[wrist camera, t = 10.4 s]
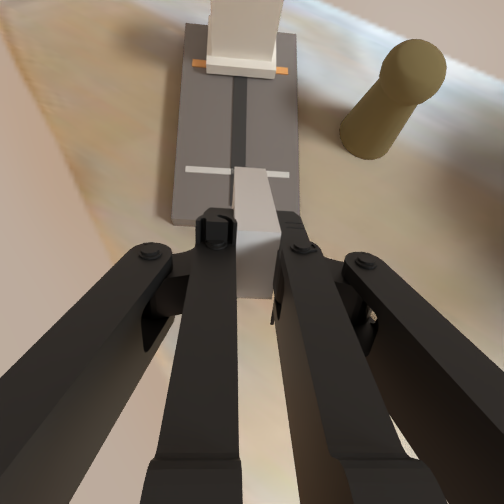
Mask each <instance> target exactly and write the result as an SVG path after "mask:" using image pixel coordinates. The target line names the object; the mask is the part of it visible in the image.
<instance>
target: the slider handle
mask: <svg viewBox="0 0 504 504" xmlns="http://www.w3.org/2000/svg"><path fill="white" fill-rule="evenodd" d="M283 1H284V0H211V15H209V22H208V40H207V58H206V73H209V74H221V75H232V76H244V77H255V78H267V79H274V78H275V74H276V36H277V31H278V26H279V21H280V16H281V11H282V6H283Z"/></svg>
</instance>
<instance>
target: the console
mask: <svg viewBox="0 0 504 504" xmlns="http://www.w3.org/2000/svg"><path fill="white" fill-rule="evenodd" d="M207 40H208V25H199V24H189V23H186V26H185V39H184V53H183V66H182V80H181V93H180V107H179V120H178V134H177V147H176V161H175V174H174V188H173V201H172V215H171V219H172V222H173V225H175V226H196V219H197V218H198V217H199V216H201V215H203V214H204V212H205V211H206V210H207V209H208V208H210V207H213V208H230V209H232V202H233V185H234V169H235V167H248V168H262V169H266V173H267V177H268V181H269V185H270V189H271V193H272V197H273V201H274V205H275V209H276V210H278V211H294V212H295V213H296V214H297V215H299V216H300V196H299V147H298V98H297V49H296V34H290V33H280V32H277V36H276V74H275V78H274V79H267V78H255V77H244V76H232V75H221V74H209V73H206V58H207Z"/></svg>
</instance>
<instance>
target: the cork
mask: <svg viewBox="0 0 504 504" xmlns="http://www.w3.org/2000/svg"><path fill="white" fill-rule="evenodd" d="M446 67H447V66H446V61H445V58H444V56H443V54H442V52H441V51H440V50H439V49H438V48H437V47H436V46H434V45H433V44H431V43H429V42H427V41H424V40H421V39H411V40H406V41H404V42H402V43H400V44H398V45H397V46H395V47H394V48H393V49H392V50H391V51H390V52H389V54H388V55H387V56H386V58H385V59H384V61H383V63H382V67H381V71H380V75H379V79H378V80H377V81H376V83H375V84H374V85H373V86H372V87H371V88H370V90H369V91H368V92H367V93H366V94H365V95H364V96H363V98H362V99H361V100H360V101H359V102H358V103H357V105H356V106H355V107H354V108H353V109H352V110H351V111H350V113H349V114H348V115H347V116H346V117H345V119H344V120H343V121H342V123H341V126H340V130H339V131H340V139H341V141H342V143H343V145H344V147H345V148H346V149H347V150H348V151H349V152H350V153H351V154H353V155H354V156H356V157H359V158H362V159H368V160H373V159H377V158H380V157H382V156H383V155H385V154H386V153H387V152H388V150H389V149H390V147H391V145H392V144H393V142H394V141H395V139H396V138H397V136H398V135H399V133H400V131H401V130H402V128H403V127H404V125H405V124H406V122H407V120H408V119H409V117H410V116H411V114H412V113H413V111H414V109H415V108H416V106H417V105H418V104H421V103H423V102H425V101H426V100H428V99H429V98H431V97H432V96H433V95H434V94H435V93H436V92H437V91H438V90H439V88H440V87H441V85H442V83H443V81H444V79H445V75H446Z"/></svg>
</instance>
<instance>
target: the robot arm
mask: <svg viewBox="0 0 504 504" xmlns="http://www.w3.org/2000/svg"><path fill="white" fill-rule="evenodd" d="M273 289H274V296H275V297H274V303H273V310H272V317H271V323H270V325H273V324H274V320H275V328H276V335H277V342H278V349H279V356H280V363H281V370H282V377H283V384H284V391H285V398H286V406H287V413H288V420H289V427H290V434H291V441H292V448H293V455H294V462H295V469H296V477H297V484H298V491H299V498H300V504H448V503H449V504H504V372H503V371H502V370H501V369H500V368H499V367H498V366H497V365H496V364H495V363H494V362H492V361H491V360H490V359H489V358H488V357H487V356H486V355H485V354H484V353H483V352H482V351H480V350H479V349H478V348H477V347H476V346H475V345H474V344H473V343H472V342H471V341H470V340H469V339H467V338H466V337H465V336H464V335H463V334H462V333H461V332H460V331H459V330H458V329H457V328H455V327H454V326H453V325H452V324H451V323H450V322H449V321H448V320H447V319H446V318H445V317H443V316H442V315H441V314H440V313H439V312H438V311H437V310H436V309H435V308H434V307H433V306H432V305H430V304H429V303H428V302H427V301H426V300H425V299H424V298H423V297H422V296H421V295H420V294H418V293H417V292H416V291H415V290H414V289H413V288H412V287H411V286H410V285H409V284H408V283H406V282H405V281H404V280H403V279H402V278H401V277H400V276H399V275H398V274H397V273H396V272H395V271H393V270H392V269H391V268H390V267H389V266H388V265H387V264H386V263H385V262H384V261H382V260H381V259H379V258H378V257H376V256H374V255H372V254H370V253H366V252H352V253H349V254H347V255H346V256H345V260H344V262H341V261H336V260H332V259H329V258H326V257H324V256H323V254H322V251H321V249H320V248H319V247H318V245H316V244H314V243H313V242H310V241H309V238H308V236H307V233H306V230H305V228H304V225H303V222H302V220H301V217H300V216H299V215H297V214H296V213H295V212H294V211H278V210H276V209H275V205H274V201H273V197H272V193H271V189H270V185H269V181H268V177H267V173H266V169H262V168H248V167H235V169H234V185H233V202H232V209H230V208H213V207H210V208H208V209H207V210H206V211H205V212H204V214H203V215H201V216H199V217H198V218H197V219H196V244H195V248H193V249H191V250H189V251H186V252H182V253H177V254H172V251H171V248H169V247H168V246H167V245H164V244H161V243H153V242H148V243H143V244H140V245H137V246H135V247H133V248H132V249H130V250H129V251H128V252H127V253H126V254H125V255H124V256H123V257H122V258H121V259H120V260H119V261H118V262H117V263H116V264H115V265H114V266H113V267H112V268H111V269H110V270H109V271H108V272H107V273H106V274H105V275H104V276H103V277H102V278H101V279H100V280H99V281H98V282H97V283H96V284H95V285H94V286H93V287H92V288H91V289H90V290H89V291H88V292H87V293H86V294H85V295H84V296H83V297H82V298H81V299H80V300H79V301H78V302H77V303H76V304H75V305H74V306H73V307H72V308H70V309H69V310H68V312H66V313H65V315H63V316H62V317H61V319H59V321H57V322H56V323H55V324H54V325H53V326H52V327H51V328H50V330H48V331H47V332H46V333H45V334H44V335H43V336H42V337H41V338H40V339H39V340H38V341H37V342H36V343H35V344H34V345H33V346H32V347H31V348H30V349H29V350H28V351H27V352H26V353H25V354H24V355H23V356H22V357H21V358H20V359H19V360H18V361H17V362H16V363H15V364H14V365H13V366H12V367H11V368H10V369H9V370H8V371H7V372H6V373H5V374H4V375H3V376H2V377H1V378H0V504H69V502H70V500H71V499H72V497H73V495H74V493H75V492H76V490H77V488H78V486H79V485H80V483H81V481H82V480H83V478H84V476H85V474H86V473H87V471H88V469H89V467H90V466H91V464H92V462H93V461H94V459H95V457H96V455H97V454H98V452H99V450H100V448H101V447H102V445H103V443H104V442H105V440H106V438H107V436H108V435H109V433H110V431H111V429H112V427H113V426H114V424H115V422H116V421H117V419H118V417H119V416H120V414H121V412H122V410H123V409H124V407H125V405H126V403H127V402H128V400H129V398H130V396H131V395H132V393H133V391H134V390H135V388H136V386H137V384H138V383H139V381H140V379H141V377H142V376H143V374H144V372H145V370H146V369H147V367H148V365H149V364H150V362H151V360H152V358H153V357H154V355H155V353H156V351H157V350H158V348H159V346H160V344H161V343H162V341H163V339H164V338H165V336H166V334H167V332H168V331H169V329H170V327H171V325H172V324H173V322H174V318H175V315H179V314H182V318H181V324H180V329H179V334H178V340H177V345H176V350H175V356H174V361H173V366H172V372H171V377H170V382H169V388H168V393H167V399H166V404H165V409H164V415H163V420H162V425H161V431H160V436H159V441H158V446H157V451H156V454H155V457H154V458H153V459H152V460H151V461H150V463H149V466H148V469H147V473H146V477H145V481H144V485H143V490H142V495H141V500H140V504H243V500H242V468H241V460H240V458H239V430H238V357H237V298H254V299H272V294H273ZM372 310H373V312H374V313H375V314H376V316H377V320H376V322H375V321H374V320H373V319H372V317H371V316H370V315H371V312H372ZM389 415H390V416H391V418H392V419H393V421H394V422H395V424H396V425H397V427H398V428H399V430H400V431H401V433H402V434H403V436H404V437H405V439H406V440H407V442H408V443H409V445H410V446H411V448H412V449H413V451H414V452H415V454H416V455H417V457H418V458H419V460H418V459H414V458H410V457H409V456H408V455H407V454H406V452H405V450H404V449H403V447H402V445H401V442H400V440H399V437H398V435H397V433H396V430H395V428H394V425H393V423H392V420H391V418H390V416H389ZM446 500H447V501H446ZM447 502H448V503H447Z"/></svg>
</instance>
